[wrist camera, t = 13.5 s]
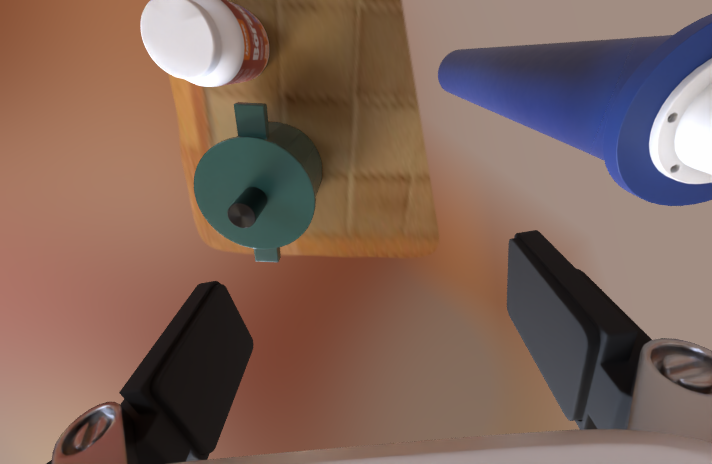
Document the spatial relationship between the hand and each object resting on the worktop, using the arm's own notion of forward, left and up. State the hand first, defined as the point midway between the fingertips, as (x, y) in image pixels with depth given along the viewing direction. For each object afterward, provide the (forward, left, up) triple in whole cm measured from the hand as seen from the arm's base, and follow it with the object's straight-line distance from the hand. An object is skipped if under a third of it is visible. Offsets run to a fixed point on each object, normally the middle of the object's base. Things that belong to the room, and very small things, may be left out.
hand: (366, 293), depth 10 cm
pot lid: (+10, +5, -18) cm, 21 cm away
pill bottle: (+12, -7, -26) cm, 30 cm away
